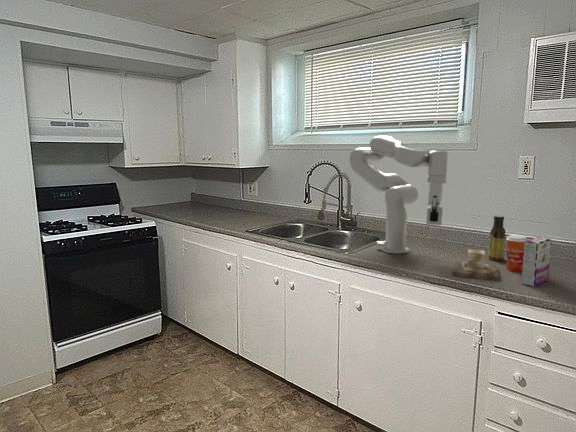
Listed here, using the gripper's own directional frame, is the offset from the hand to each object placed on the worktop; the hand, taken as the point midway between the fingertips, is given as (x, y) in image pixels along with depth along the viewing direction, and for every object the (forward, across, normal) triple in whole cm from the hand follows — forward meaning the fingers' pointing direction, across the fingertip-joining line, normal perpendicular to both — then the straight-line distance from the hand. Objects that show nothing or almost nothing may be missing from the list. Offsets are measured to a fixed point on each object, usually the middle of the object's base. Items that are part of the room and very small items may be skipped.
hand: (434, 219), depth 185 cm
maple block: (+16, +14, +18) cm, 28 cm away
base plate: (+18, +14, +18) cm, 29 cm away
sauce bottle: (+18, -10, +26) cm, 34 cm away
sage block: (+2, 0, 0) cm, 2 cm away
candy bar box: (+18, +20, +38) cm, 46 cm away
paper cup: (+18, +5, +32) cm, 38 cm away
